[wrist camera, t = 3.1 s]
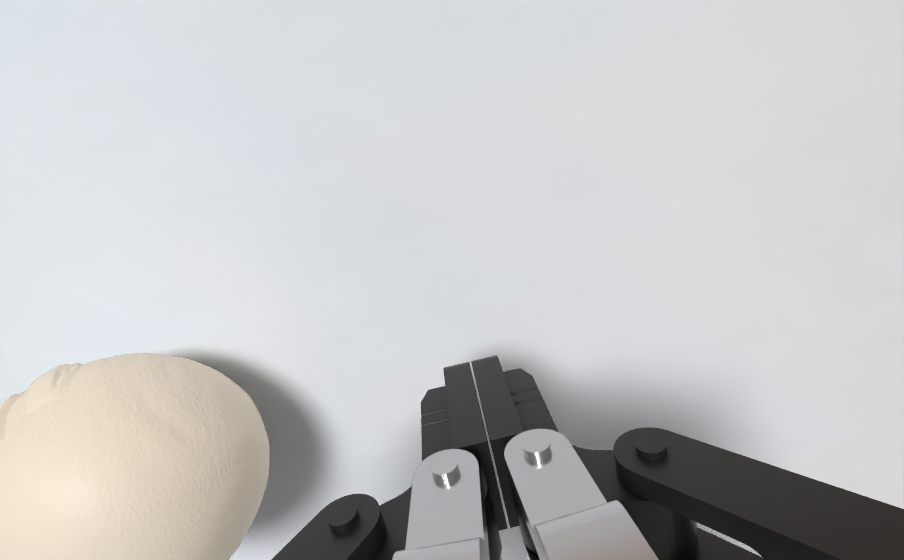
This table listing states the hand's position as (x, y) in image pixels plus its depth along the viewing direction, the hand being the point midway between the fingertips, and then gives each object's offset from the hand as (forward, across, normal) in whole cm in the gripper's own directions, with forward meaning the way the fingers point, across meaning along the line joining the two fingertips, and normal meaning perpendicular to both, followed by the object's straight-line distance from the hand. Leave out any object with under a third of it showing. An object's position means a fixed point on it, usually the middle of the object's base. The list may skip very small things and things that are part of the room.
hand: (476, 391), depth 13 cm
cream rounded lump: (+4, +10, 0) cm, 11 cm away
